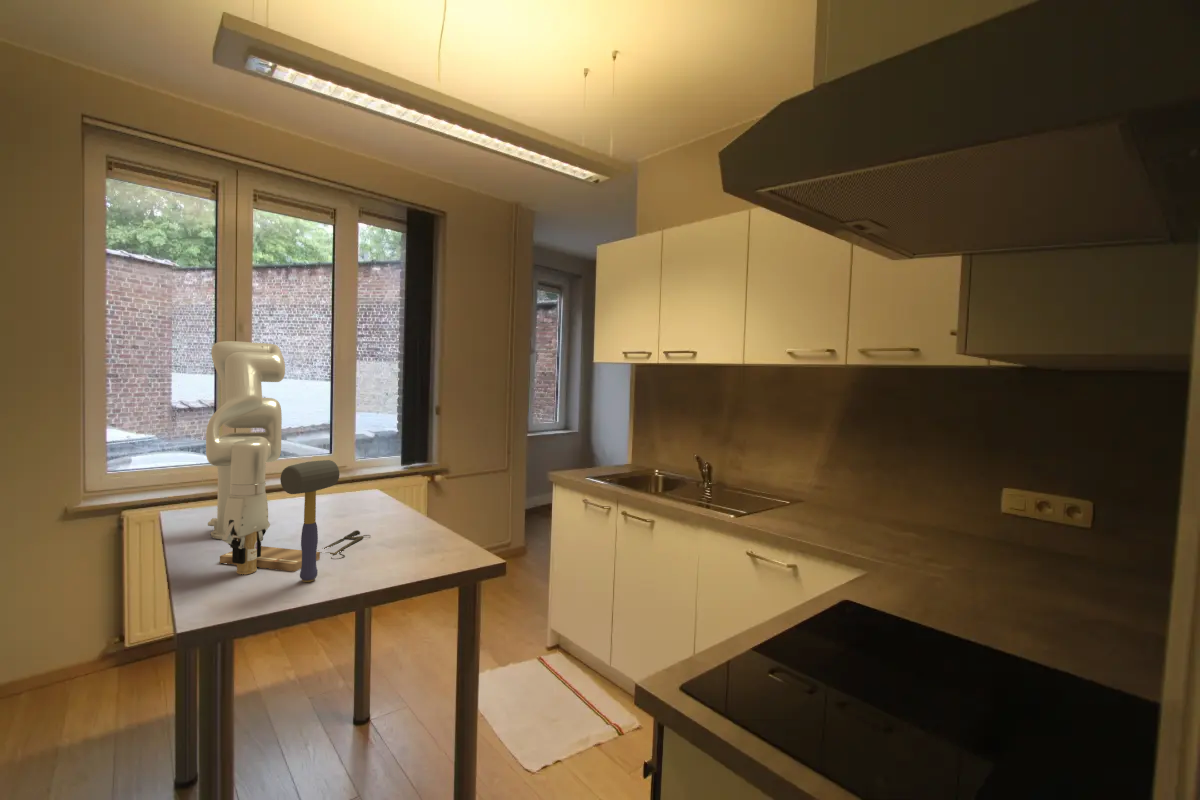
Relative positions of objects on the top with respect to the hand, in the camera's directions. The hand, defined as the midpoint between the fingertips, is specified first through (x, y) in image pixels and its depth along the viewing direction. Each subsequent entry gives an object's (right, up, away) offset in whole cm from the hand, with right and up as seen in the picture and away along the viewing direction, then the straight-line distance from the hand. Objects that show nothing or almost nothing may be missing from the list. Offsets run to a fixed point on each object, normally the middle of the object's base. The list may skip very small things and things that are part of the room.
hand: (246, 559), depth 142 cm
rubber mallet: (+18, -5, -4) cm, 19 cm away
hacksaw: (+15, -3, +25) cm, 29 cm away
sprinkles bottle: (0, -4, 0) cm, 4 cm away
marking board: (+1, -3, +9) cm, 9 cm away
